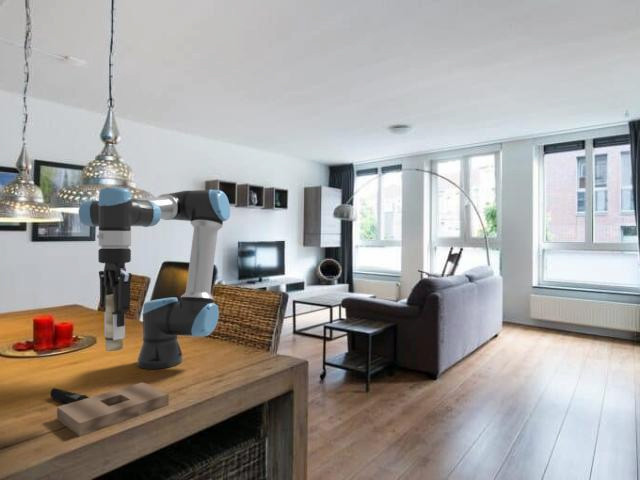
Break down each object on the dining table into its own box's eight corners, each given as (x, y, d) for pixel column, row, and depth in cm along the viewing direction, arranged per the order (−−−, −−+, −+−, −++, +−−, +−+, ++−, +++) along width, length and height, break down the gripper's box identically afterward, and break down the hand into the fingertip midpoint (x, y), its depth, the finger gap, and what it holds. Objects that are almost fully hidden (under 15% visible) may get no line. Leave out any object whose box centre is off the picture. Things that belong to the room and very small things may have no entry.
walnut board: (142, 392, 117) (142, 382, 117) (168, 405, 108) (168, 394, 108) (57, 418, 100) (57, 406, 99) (79, 436, 91) (79, 423, 91)
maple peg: (118, 345, 106) (118, 293, 106) (126, 348, 104) (126, 294, 104) (102, 349, 103) (102, 295, 103) (109, 352, 100) (109, 296, 100)
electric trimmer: (60, 396, 115) (60, 385, 115) (94, 405, 108) (93, 394, 108) (46, 401, 112) (46, 389, 112) (80, 411, 105) (80, 399, 105)
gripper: (85, 247, 106) (85, 335, 106) (115, 248, 95) (114, 345, 95) (114, 247, 112) (114, 330, 112) (145, 247, 101) (145, 339, 101)
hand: (114, 337), depth 103 cm, fingers closed on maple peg, 4 cm apart
